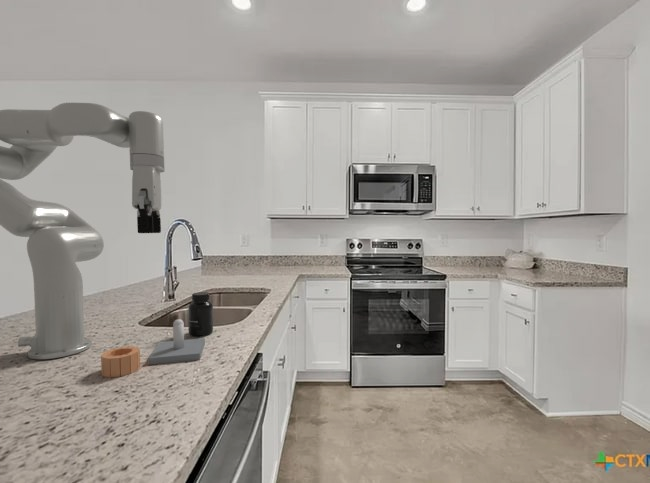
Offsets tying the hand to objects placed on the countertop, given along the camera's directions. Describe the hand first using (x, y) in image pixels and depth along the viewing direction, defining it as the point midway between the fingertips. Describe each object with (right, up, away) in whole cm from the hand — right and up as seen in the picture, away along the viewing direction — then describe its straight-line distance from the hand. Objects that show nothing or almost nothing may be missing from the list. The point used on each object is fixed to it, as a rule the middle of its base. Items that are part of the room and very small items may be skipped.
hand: (150, 233), depth 81 cm
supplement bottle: (+7, -30, +15) cm, 34 cm away
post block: (+8, -30, -1) cm, 31 cm away
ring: (-1, -30, -10) cm, 32 cm away
